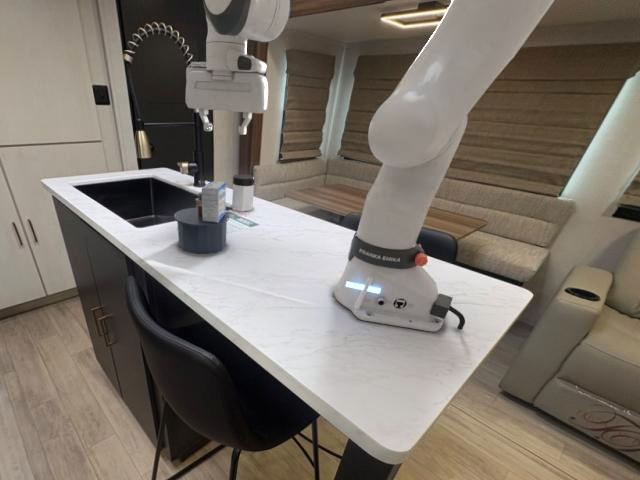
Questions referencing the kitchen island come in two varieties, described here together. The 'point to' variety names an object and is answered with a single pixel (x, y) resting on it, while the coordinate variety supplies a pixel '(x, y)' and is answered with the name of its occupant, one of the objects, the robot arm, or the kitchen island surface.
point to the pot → (202, 238)
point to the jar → (243, 192)
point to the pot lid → (196, 217)
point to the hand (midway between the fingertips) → (224, 132)
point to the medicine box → (214, 201)
